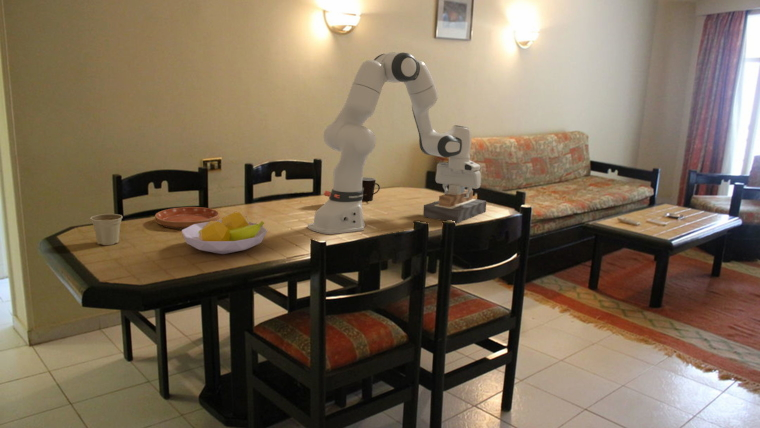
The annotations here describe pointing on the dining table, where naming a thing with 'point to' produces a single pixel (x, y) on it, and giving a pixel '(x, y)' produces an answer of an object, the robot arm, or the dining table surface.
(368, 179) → the coffee mug
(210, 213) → the saucer
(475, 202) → the block
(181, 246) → the dining table surface
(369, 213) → the dining table surface
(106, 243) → the flower pot
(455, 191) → the block
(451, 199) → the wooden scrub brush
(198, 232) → the fruit bowl
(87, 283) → the dining table surface
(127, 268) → the dining table surface
